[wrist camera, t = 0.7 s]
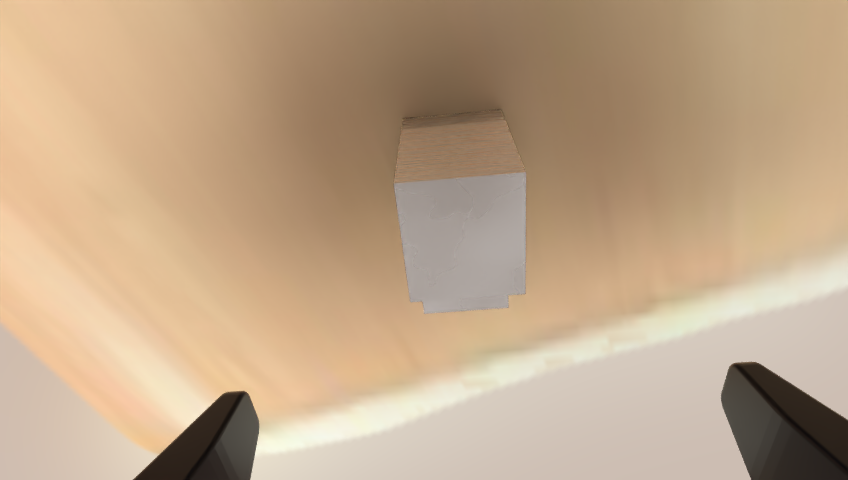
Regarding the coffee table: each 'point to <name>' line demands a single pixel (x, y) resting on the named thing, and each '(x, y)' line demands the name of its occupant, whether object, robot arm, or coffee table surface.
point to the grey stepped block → (461, 211)
